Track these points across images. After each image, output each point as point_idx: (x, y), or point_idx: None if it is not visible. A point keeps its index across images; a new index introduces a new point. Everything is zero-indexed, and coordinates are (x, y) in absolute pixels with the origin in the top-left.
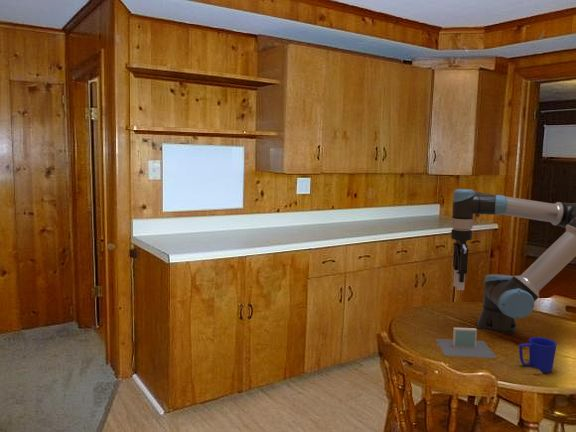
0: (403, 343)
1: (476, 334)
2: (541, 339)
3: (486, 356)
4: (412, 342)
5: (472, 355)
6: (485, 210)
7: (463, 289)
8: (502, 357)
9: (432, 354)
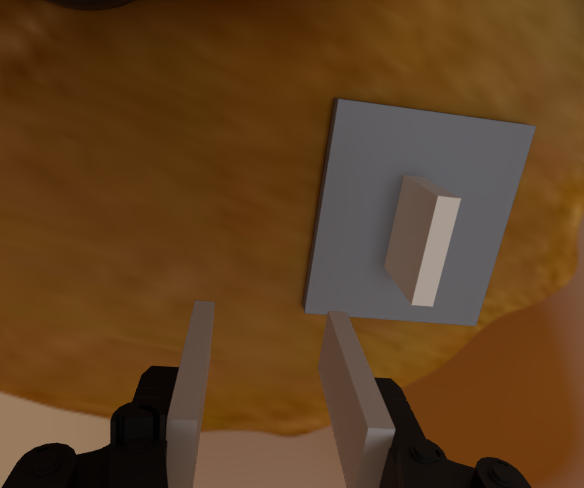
0: (309, 417)
1: (449, 192)
2: None
3: (513, 167)
4: (299, 386)
5: (494, 222)
6: None
7: (347, 322)
8: (486, 73)
9: (419, 345)
